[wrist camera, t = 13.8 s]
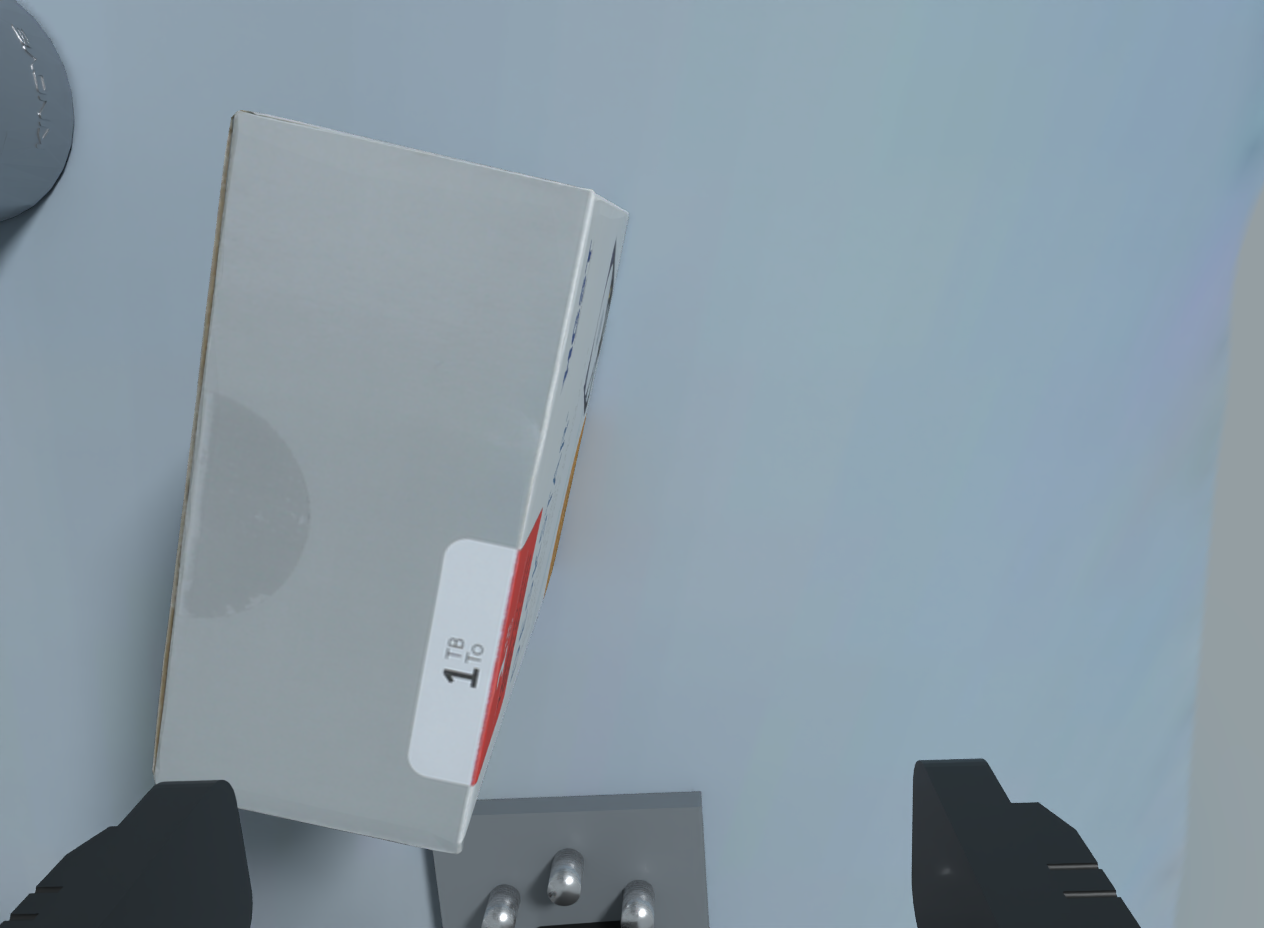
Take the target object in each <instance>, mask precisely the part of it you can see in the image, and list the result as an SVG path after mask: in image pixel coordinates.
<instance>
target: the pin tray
mask: <svg viewBox="0 0 1264 928" xmlns="http://www.w3.org/2000/svg"><path fill="white" fill-rule="evenodd" d="M433 857H434V865H435V872H436V880H437V887H438V895H439V903H440V910H441V918H442V925H443V928H538V927H540V926H550V925H563V924H577V923H591V922H605V921H619V920H621V928H709V917H708V900H707V883H706V867H705V850H704V833H703V816H702V799H701V792H675V793H648V794H622V795H596V796H570V797H544V798H518V799H492V800H476V803H475V807H474V810H473V813H472V816H471V819H470V822H469V826H468V829H467V832H466V835H465V838H464V844H463V849H462V851H461V852H460V853H459V854H452V853H447V852H441V851H435V850H433Z"/></svg>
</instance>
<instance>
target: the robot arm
mask: <svg viewBox="0 0 1264 928" xmlns="http://www.w3.org/2000/svg"><path fill="white" fill-rule="evenodd" d="M73 125H74V112H73V102H72V92H71V89H70V85H69V82H68V78H67V75H66V71H65V68H64V65H63V63H62V61H61V59H60V57H59V55H58V53H57V51H56V49H55V47H54V45H53V43H52V41H51V40H50V38H49V37H48V36H47V34H46V33H45V32H44V30H43V29H42V28H41V26H40V25H39V24H38V22H37V21H36V20H35V18H34V17H33V16H32V15H30V14H29V13H28V12H27V11H26V10H25V9H24V8H23V7H22V6H21V5H20V4H18V3H17V2H16V1H15V0H0V221H2V220H6V219H9V218H12V217H15V216H17V215H19V214H20V213H22V212H24V211H25V210H27V209H29V208H31V207H32V206H34V205H35V204H36V203H37V202H38V201H39V200H40V199H41V198H42V197H43V196H44V195H45V194H46V193H47V192H48V191H49V190H50V189H51V188H52V187H53V185H54V183H55V182H56V180H57V178H58V177H59V175H60V173H61V172H62V170H63V168H64V166H65V163H66V160H67V157H68V154H69V151H70V148H71V144H72V134H73ZM912 894H913V904H914V911H915V917H916V922H917V927H918V928H1141V927H1140V926H1139V924H1138V923H1137V921H1136V920H1135V918H1134V917H1133V915H1132V914H1131V912H1130V911H1129V909H1128V908H1127V906H1126V905H1125V903H1124V902H1123V900H1122V899H1121V897H1117V895H1116V890H1115V888H1114V887H1113V885H1112V884H1111V882H1110V881H1109V879H1108V878H1107V876H1106V875H1105V873H1104V872H1103V870H1102V869H1099V868H1098V862H1097V861H1096V859H1095V858H1094V856H1093V855H1092V853H1091V852H1090V850H1089V849H1088V847H1087V846H1086V844H1085V843H1084V841H1083V840H1082V838H1081V837H1080V835H1079V834H1078V832H1077V831H1076V830H1075V829H1074V828H1073V827H1071V826H1070V825H1069V824H1067V823H1066V822H1064V821H1063V820H1062V819H1060V818H1059V817H1058V816H1056V815H1055V814H1053V813H1052V812H1051V811H1049V810H1048V809H1047V808H1045V807H1044V806H1042V805H1041V804H1040V803H1038V802H1035V803H1011V802H1010V800H1009V799H1008V797H1007V795H1006V794H1005V792H1004V790H1003V788H1002V787H1001V785H1000V783H999V782H998V780H997V778H996V776H995V775H994V773H993V771H992V770H991V768H990V766H989V765H988V763H987V762H986V761H985V760H984V759H950V760H919V761H917V762H916V764H915V768H914V775H913V822H912ZM252 905H253V902H252V890H251V884H250V878H249V872H248V866H247V860H246V854H245V848H244V842H243V836H242V830H241V824H240V818H239V812H238V806H237V800H236V796H235V793H234V790H233V788H232V786H231V785H230V783H229V782H227V781H226V780H197V781H164V782H160V783H158V784H156V785H155V786H154V787H153V788H152V789H151V790H150V791H149V792H148V793H147V794H146V795H145V796H144V797H143V799H142V800H141V801H140V802H139V803H138V804H137V805H136V806H135V807H134V809H133V810H132V811H131V812H130V813H129V814H128V815H127V816H126V817H125V819H124V820H123V821H122V822H121V823H120V824H119V825H118V826H112V827H108V828H107V829H105V830H104V831H102V832H101V833H99V834H97V835H96V836H94V837H93V838H91V839H90V840H88V841H87V842H85V843H84V844H82V845H80V846H79V847H77V848H76V849H74V850H73V851H71V852H70V853H68V854H67V855H66V856H65V857H64V858H63V859H62V860H61V861H60V862H59V863H58V864H57V865H56V866H55V867H54V868H53V869H52V870H51V871H50V873H49V874H48V875H47V876H46V877H45V878H44V879H43V880H42V881H41V882H40V883H39V884H38V885H37V886H36V891H35V893H32V894H29V895H28V896H27V897H26V898H25V899H24V900H23V901H22V902H21V903H20V904H19V906H18V907H17V908H16V909H15V910H14V911H13V912H12V913H11V917H10V920H9V921H3V923H2V924H1V925H0V928H250V925H251V919H252Z"/></svg>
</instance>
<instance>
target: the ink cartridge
mask: <svg viewBox="0 0 1264 928" xmlns="http://www.w3.org/2000/svg"><path fill="white" fill-rule="evenodd" d="M538 928H621V920H619V921H605V922H591V923H577V924H563V925H550V926H540V927H538Z"/></svg>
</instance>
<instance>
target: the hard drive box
mask: <svg viewBox="0 0 1264 928" xmlns="http://www.w3.org/2000/svg"><path fill="white" fill-rule="evenodd" d="M628 218H629V213H628V212H627V211H625V210H623V209H621V208H620V207H618V206H616V205H615V204H613V203H611V202H609V201H608V200H606V199H604V198H603V197H601V196H599V195H597V194H595V192H594V191H593V190H592V189H586V188H580V187H576V186H572V185H568V184H564V183H560V182H556V181H551V180H547V179H542V178H538V177H533V176H529V175H525V174H521V173H516V172H512V171H508V170H503V169H499V168H495V167H491V166H486V165H482V164H478V163H473V162H469V161H465V160H461V159H456V158H452V157H448V156H443V155H439V154H435V153H431V152H426V151H422V150H418V149H414V148H409V147H405V146H401V145H397V144H392V143H388V142H384V141H380V140H376V139H371V138H367V137H363V136H359V135H354V134H350V133H346V132H342V131H338V130H333V129H329V128H325V127H321V126H317V125H312V124H308V123H303V122H299V121H294V120H290V119H286V118H281V117H277V116H272V115H268V114H263V113H258V112H251V111H245V110H240V111H237V112H236V113H235V114H234V115H233V116H232V117H231V123H230V128H229V134H228V140H227V146H226V152H225V159H224V167H223V174H222V182H221V191H220V199H219V207H218V215H217V224H216V233H215V241H214V249H213V257H212V266H211V274H210V282H209V290H208V298H207V306H206V314H205V323H204V331H203V340H202V349H201V359H200V368H199V377H198V387H197V396H196V404H195V412H194V420H193V428H192V436H191V443H190V451H189V459H188V468H187V477H186V485H185V494H184V502H183V509H182V516H181V525H180V533H179V541H178V549H177V557H176V565H175V573H174V581H173V589H172V597H171V605H170V612H169V620H168V628H167V636H166V644H165V651H164V659H163V667H162V676H161V685H160V695H159V705H158V714H157V724H156V735H155V748H154V759H153V770H152V771H153V774H154V781H155V785H156V784H158V783H160V782H164V781H197V780H226V781H227V782H229V783H230V785H231V786H232V788H233V790H234V793H235V796H236V800H237V806H238V808H239V809H244V810H249V811H253V812H258V813H262V814H267V815H272V816H276V817H281V818H285V819H290V820H295V821H299V822H304V823H308V824H313V825H318V826H322V827H327V828H332V829H336V830H341V831H346V832H351V833H355V834H360V835H365V836H369V837H374V838H378V839H383V840H388V841H392V842H397V843H401V844H406V845H411V846H415V847H420V848H425V849H430V850H435V851H441V852H447V853H452V854H459V853H460V852H461V851H462V849H463V844H464V838H465V835H466V832H467V829H468V826H469V822H470V819H471V816H472V813H473V810H474V807H475V803H476V800H477V797H478V794H479V791H480V788H481V785H482V782H483V779H484V776H485V772H486V769H487V766H488V763H489V760H490V757H491V754H492V751H493V748H494V744H495V741H496V738H497V735H498V732H499V729H500V726H501V723H502V720H503V717H504V714H505V711H506V708H507V705H508V702H509V699H510V696H511V693H512V690H513V687H514V684H515V681H516V678H517V675H518V672H519V670H520V667H521V664H522V661H523V658H524V655H525V652H526V649H527V646H528V643H529V640H530V638H531V635H532V632H533V629H534V626H535V624H536V621H537V618H538V614H539V611H540V608H541V605H542V602H543V599H544V596H545V593H546V590H547V586H548V583H549V580H550V576H551V573H552V569H553V565H554V561H555V557H556V553H557V548H558V544H559V539H560V535H561V530H562V526H563V521H564V516H565V512H566V507H567V502H568V498H569V493H570V488H571V484H572V479H573V475H574V470H575V465H576V461H577V456H578V451H579V447H580V442H581V438H582V433H583V428H584V424H585V419H586V415H587V410H588V405H589V401H590V396H591V392H592V387H593V382H594V378H595V373H596V369H597V364H598V359H599V354H600V350H601V345H602V341H603V336H604V332H605V327H606V322H607V318H608V313H609V309H610V304H611V300H612V295H613V290H614V285H615V280H616V276H617V271H618V266H619V261H620V256H621V251H622V247H623V242H624V237H625V232H626V228H627V223H628Z"/></svg>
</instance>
